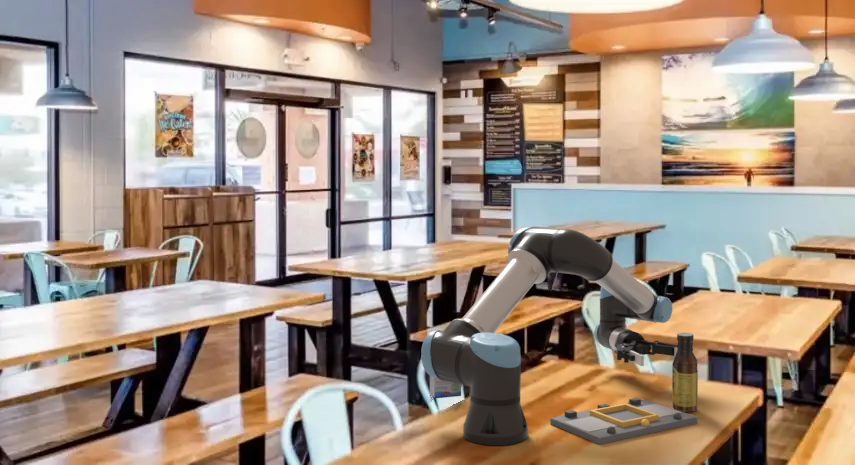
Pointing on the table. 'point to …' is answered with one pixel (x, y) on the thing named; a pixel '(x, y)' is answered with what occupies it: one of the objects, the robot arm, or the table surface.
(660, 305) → the robot arm
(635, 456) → the table surface
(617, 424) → the grey fixture plate
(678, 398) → the sauce bottle
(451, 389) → the medicine box
